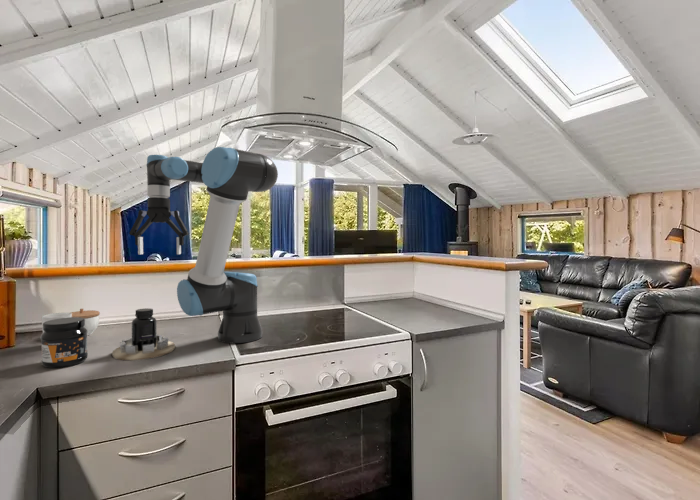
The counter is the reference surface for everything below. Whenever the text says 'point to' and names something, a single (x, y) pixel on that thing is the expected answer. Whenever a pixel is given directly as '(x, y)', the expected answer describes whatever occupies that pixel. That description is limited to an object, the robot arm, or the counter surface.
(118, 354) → the seat plate
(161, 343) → the castellated ring
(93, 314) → the lidded jar
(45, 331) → the supplement container
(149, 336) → the supplement bottle
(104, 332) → the counter surface
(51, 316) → the white cup
